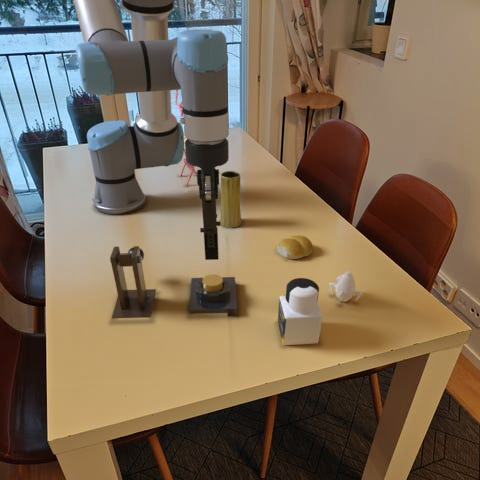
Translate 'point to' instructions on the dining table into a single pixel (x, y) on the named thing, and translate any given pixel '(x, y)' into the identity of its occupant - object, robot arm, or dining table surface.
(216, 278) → the tan short cylinder
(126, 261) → the flush lever
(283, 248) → the bread roll
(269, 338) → the dining table surface
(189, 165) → the figurine
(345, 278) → the rocket toy
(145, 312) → the lever bracket
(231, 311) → the button base
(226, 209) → the vase
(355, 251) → the dining table surface
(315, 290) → the medicine bottle
